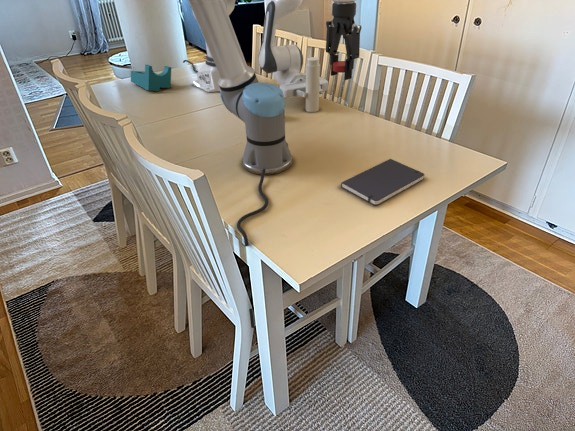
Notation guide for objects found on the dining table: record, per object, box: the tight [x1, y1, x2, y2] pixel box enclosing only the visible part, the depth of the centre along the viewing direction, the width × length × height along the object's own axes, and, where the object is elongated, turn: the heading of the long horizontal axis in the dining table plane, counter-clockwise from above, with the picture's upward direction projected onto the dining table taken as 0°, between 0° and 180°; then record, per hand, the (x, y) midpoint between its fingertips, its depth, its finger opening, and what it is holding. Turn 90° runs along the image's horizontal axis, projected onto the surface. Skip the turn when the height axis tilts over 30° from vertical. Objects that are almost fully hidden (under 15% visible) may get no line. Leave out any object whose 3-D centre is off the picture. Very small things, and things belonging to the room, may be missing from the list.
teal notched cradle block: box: [130, 64, 172, 92], centre depth 188 cm, size 18×11×10 cm, turn 43°
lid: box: [333, 60, 345, 74], centre depth 138 cm, size 6×6×2 cm
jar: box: [304, 56, 321, 113], centre depth 156 cm, size 5×5×20 cm
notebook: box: [340, 158, 425, 206], centre depth 114 cm, size 13×2×21 cm
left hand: (313, 93), depth 157 cm, fingers closed on jar, 5 cm apart
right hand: (341, 76), depth 140 cm, fingers closed on lid, 6 cm apart
